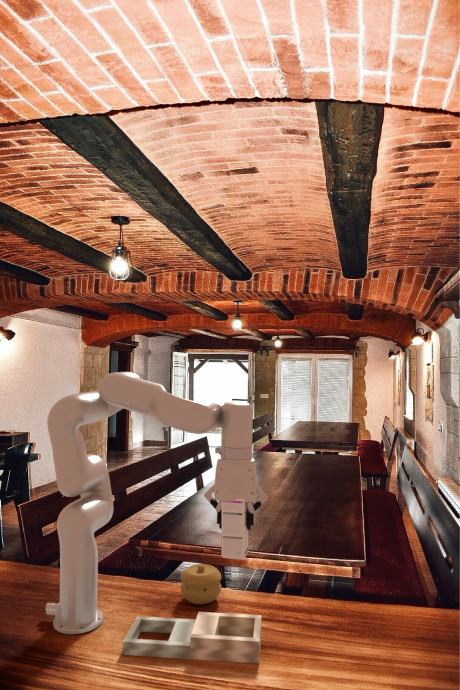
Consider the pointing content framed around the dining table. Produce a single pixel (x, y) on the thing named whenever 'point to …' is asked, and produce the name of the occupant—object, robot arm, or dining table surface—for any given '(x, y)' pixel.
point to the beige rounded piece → (201, 583)
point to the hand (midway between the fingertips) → (235, 526)
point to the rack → (199, 637)
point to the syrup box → (234, 529)
